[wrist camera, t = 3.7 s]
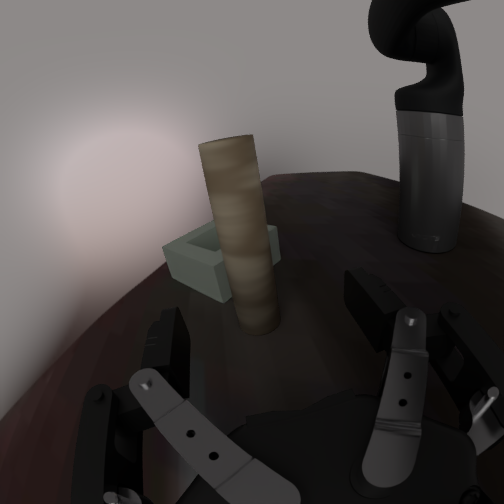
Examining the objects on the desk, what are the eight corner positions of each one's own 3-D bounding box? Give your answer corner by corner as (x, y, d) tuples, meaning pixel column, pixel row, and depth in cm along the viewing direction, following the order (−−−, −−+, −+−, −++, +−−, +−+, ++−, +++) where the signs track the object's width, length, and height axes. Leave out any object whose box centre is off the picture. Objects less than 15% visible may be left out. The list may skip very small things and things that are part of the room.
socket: (226, 244, 41) (220, 216, 38) (280, 259, 34) (276, 226, 32) (172, 277, 34) (161, 246, 32) (223, 303, 28) (213, 266, 26)
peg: (257, 303, 27) (226, 137, 20) (288, 316, 25) (264, 132, 17) (231, 325, 25) (187, 147, 17) (262, 341, 22) (223, 141, 15)
